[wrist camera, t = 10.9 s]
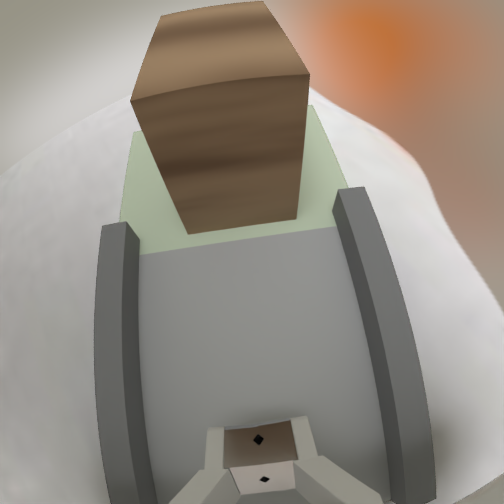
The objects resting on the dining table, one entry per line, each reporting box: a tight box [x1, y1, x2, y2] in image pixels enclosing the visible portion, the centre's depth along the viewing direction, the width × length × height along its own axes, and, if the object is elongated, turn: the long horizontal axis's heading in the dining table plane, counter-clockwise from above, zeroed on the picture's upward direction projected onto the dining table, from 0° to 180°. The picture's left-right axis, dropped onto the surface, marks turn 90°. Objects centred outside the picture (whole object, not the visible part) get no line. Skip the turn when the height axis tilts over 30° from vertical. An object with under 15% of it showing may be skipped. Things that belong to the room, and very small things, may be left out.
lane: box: [94, 105, 436, 504], centre depth 15 cm, size 26×14×3 cm, turn 8°
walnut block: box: [130, 1, 310, 235], centre depth 15 cm, size 10×6×9 cm, turn 7°
